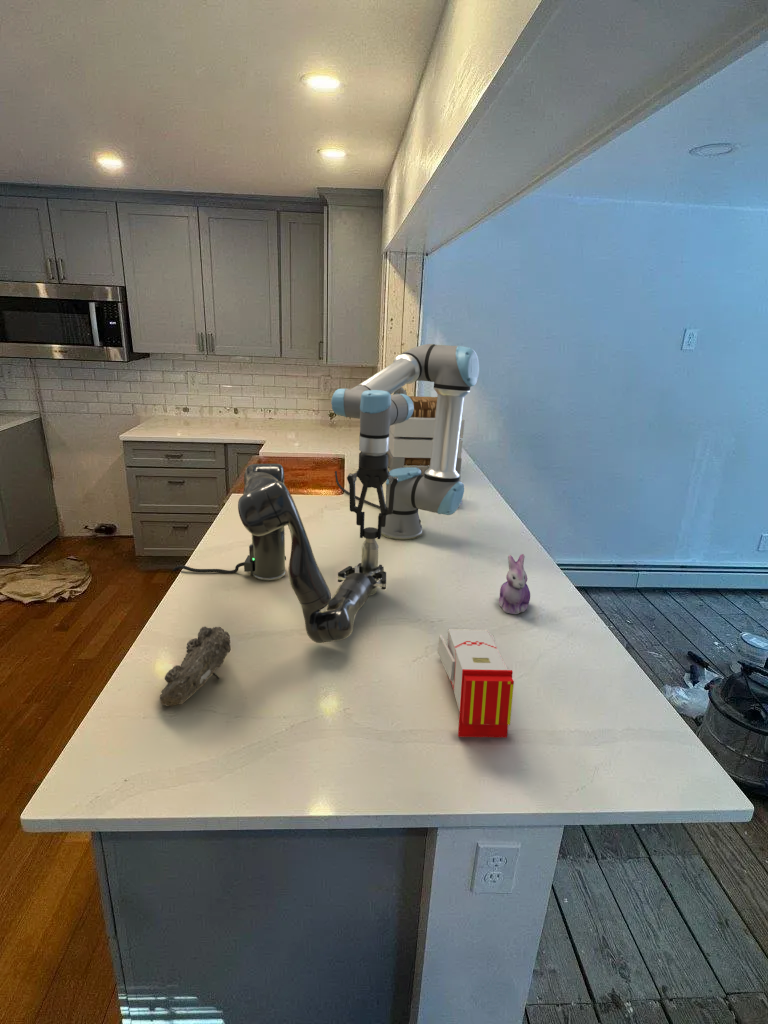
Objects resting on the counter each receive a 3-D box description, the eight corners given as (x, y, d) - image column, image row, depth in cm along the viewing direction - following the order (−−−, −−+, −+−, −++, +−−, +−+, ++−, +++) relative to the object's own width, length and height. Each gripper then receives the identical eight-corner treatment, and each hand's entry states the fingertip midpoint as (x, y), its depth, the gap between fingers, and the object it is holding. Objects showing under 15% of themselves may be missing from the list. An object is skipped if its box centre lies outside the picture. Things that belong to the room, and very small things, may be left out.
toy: (488, 613, 130) (523, 677, 101) (484, 667, 133) (517, 744, 104) (435, 612, 130) (455, 676, 101) (432, 666, 133) (451, 743, 103)
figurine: (512, 619, 147) (519, 566, 142) (488, 601, 156) (494, 551, 151) (540, 611, 151) (548, 560, 146) (515, 594, 160) (522, 546, 155)
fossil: (184, 629, 128) (231, 598, 123) (214, 657, 131) (261, 628, 126) (138, 700, 109) (191, 667, 104) (173, 731, 112) (227, 701, 107)
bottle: (364, 596, 156) (366, 536, 150) (357, 589, 160) (359, 530, 154) (379, 593, 158) (382, 534, 152) (372, 586, 162) (374, 528, 155)
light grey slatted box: (382, 463, 289) (386, 382, 275) (445, 464, 293) (451, 384, 279) (390, 482, 257) (394, 392, 243) (460, 483, 261) (468, 394, 247)
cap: (364, 533, 155) (364, 526, 154) (378, 534, 155) (379, 527, 154) (362, 538, 151) (362, 532, 151) (377, 539, 151) (377, 533, 150)
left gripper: (380, 584, 140) (397, 557, 156) (326, 575, 144) (348, 550, 159) (379, 611, 143) (396, 582, 159) (326, 601, 146) (347, 574, 162)
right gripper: (407, 451, 148) (403, 533, 156) (343, 446, 149) (341, 529, 157) (406, 458, 141) (401, 544, 149) (338, 453, 142) (336, 539, 150)
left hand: (371, 566), depth 159 cm, fingers closed on bottle, 4 cm apart
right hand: (370, 536), depth 153 cm, fingers open, 4 cm apart
